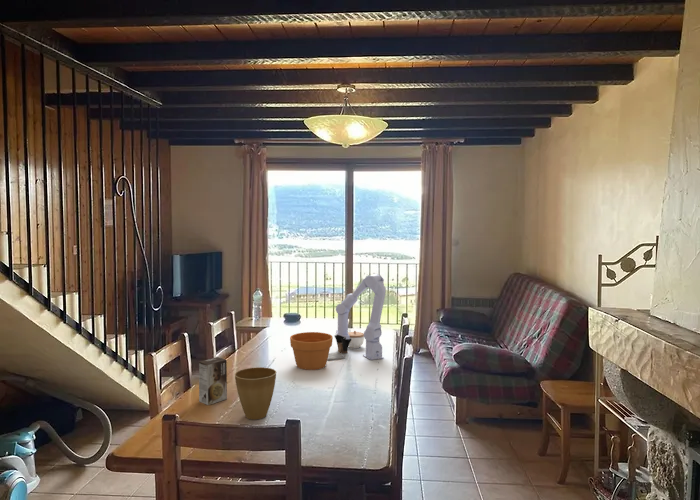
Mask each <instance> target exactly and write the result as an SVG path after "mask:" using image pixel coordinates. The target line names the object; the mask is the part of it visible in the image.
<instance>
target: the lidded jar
mask: <svg viewBox="0 0 700 500" xmlns="http://www.w3.org/2000/svg"><path fill="white" fill-rule="evenodd" d="M348 334H349V336H350V339H351V341H350V343H349V346H348V348H350V349H360V348H361V346H363V344H364V341H365V338H364V332H359V331H356V330H353V331H348ZM359 347H360V348H359Z"/></svg>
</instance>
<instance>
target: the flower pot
mask: <svg viewBox="0 0 700 500" xmlns="http://www.w3.org/2000/svg"><path fill="white" fill-rule="evenodd" d="M289 341H290V342H289V343H290V347H291V348H292V351H293V355H294V361H295V364H296V367H297V368H299V369H301V370H306V371H315V370H317V371H318V370H322V369H323V368H325V367H326V366H327V363H328V362H327V359H328V355H329V354H330V350H331V347H333V346H332V345H333V335H331V334H329V333H325V332H319V331H307V332H298V333H295V334H294V333H293V334H292V335H291V336H290V337H289Z"/></svg>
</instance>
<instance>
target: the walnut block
mask: <svg viewBox="0 0 700 500" xmlns="http://www.w3.org/2000/svg"><path fill="white" fill-rule="evenodd" d="M337 353H339V354H347V353H348V350H347V351H343V345H342V343H338V346H337Z"/></svg>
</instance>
